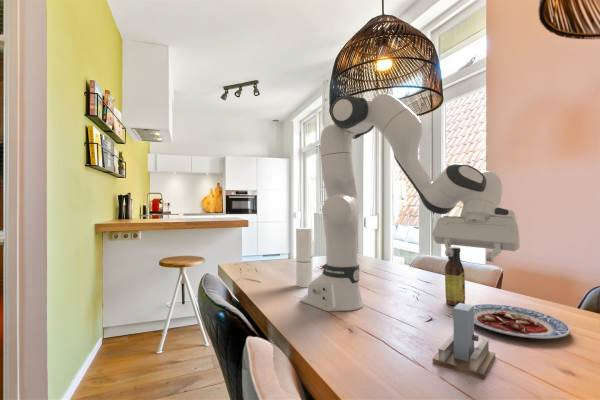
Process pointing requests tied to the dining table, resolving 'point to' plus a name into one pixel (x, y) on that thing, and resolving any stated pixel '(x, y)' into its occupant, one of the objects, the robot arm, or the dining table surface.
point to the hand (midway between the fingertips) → (468, 257)
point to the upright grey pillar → (464, 331)
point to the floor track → (474, 367)
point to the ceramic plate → (519, 322)
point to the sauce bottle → (454, 279)
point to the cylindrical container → (304, 256)
